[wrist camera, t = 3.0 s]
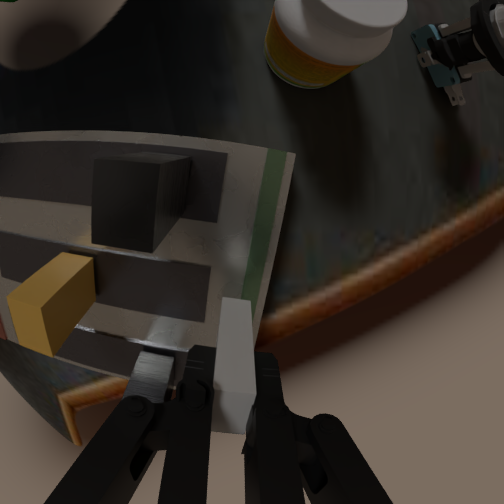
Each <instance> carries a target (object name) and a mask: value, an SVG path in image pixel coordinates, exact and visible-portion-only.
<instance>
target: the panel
mask: <svg viewBox="0 0 504 504" xmlns="http://www.w3.org/2000/svg"><path fill="white" fill-rule="evenodd" d="M295 156H296V154H294V153H290V152H285V151H280V150H275V149H269V148H264V147H258V146H252V145H246V144H240V143H233V142H226V141H219V140H212V139H204V138H196V137H187V136H177V135H166V134H154V133H140V132H121V131H43V132H25V133H12V134H1V135H0V338H2V339H4V340H7V339H8V340H10V341H12V342H15V343H17V344H19V341H18V337H17V334H16V331H15V328H14V324H13V321H12V317H11V313H10V310H9V306H8V302H7V297H6V296H8V295H9V294H10V293H11V292H12V291H13V290H15V289H16V288H17V287H18V286H19V285H21V284H22V283H23V282H24V281H25V280H27V279H28V278H29V277H30V276H32V275H33V274H34V273H35V272H37V271H38V270H39V269H41V268H42V267H43V266H44V265H46V264H47V263H48V262H50V261H51V260H52V259H54V258H55V257H56V256H58V255H59V254H60V253H62V252H65V253H70V254H75V255H81V256H86V257H91V258H93V265H94V282H95V294H96V301H95V302H94V303H93V305H92V306H91V307H90V309H89V310H88V311H87V312H86V314H85V315H84V316H83V318H82V319H81V320H80V322H79V323H78V324H77V325H76V327H75V328H74V329H73V331H72V332H71V334H70V335H69V336H68V338H67V339H66V340H65V342H64V343H63V345H62V346H61V347H60V349H59V350H58V352H57V353H56V354H55V356H54V357H53V358H56V359H59V360H62V361H65V362H68V363H71V364H74V365H77V366H80V367H83V368H87V369H90V370H93V371H97V372H100V373H104V374H108V375H112V376H115V377H119V378H123V379H128V380H129V382H128V385H127V387H126V390H125V393H124V395H123V398H122V400H123V399H124V398H125V397H128V396H131V395H139V396H143V397H146V398H147V399H149V400H150V401H151V402H152V403H163V402H168V401H171V397H172V392H173V389H176V386H177V384H178V382H179V381H181V380H182V379H183V374H184V370H185V365H186V361H187V356H188V351H189V350H190V349H191V348H192V347H193V346H194V345H195V344H196V345H202V346H209V347H216V339H217V332H218V325H219V318H220V311H221V304H222V297H227V298H234V299H241V300H249V301H251V314H252V331H253V347H255V343H256V338H257V334H258V330H259V326H260V321H261V317H262V312H263V308H264V304H265V299H266V295H267V290H268V286H269V281H270V277H271V272H272V268H273V263H274V258H275V254H276V249H277V244H278V240H279V235H280V230H281V225H282V221H283V216H284V211H285V206H286V201H287V196H288V191H289V186H290V181H291V176H292V171H293V166H294V161H295ZM19 345H20V344H19Z"/></svg>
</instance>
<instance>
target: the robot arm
mask: <svg viewBox="0 0 504 504" xmlns="http://www.w3.org/2000/svg"><path fill="white" fill-rule="evenodd" d="M245 430H246V440H245V443H244V446H243V449H242V453H241V454H244V461H245V462H244V463H245V464H244V466H245V504H305V499H304V492H303V488H304V490H305V492H306V494H307V496H308V498H309V500H310V502H311V504H393V503H392V501H391V500H390V498H389V497H388V495H387V493H386V492H385V490H384V489H383V487H382V485H381V484H380V483H379V481H378V479H377V478H376V476H375V474H374V473H373V471H372V470H371V468H370V467H369V465H368V463H367V462H366V460H365V459H364V457H363V455H362V454H361V452H360V451H359V449H358V448H357V446H356V444H355V443H354V441H353V440H352V438H351V436H350V435H349V433H348V432H347V430H346V428H345V427H344V425H343V424H342V422H341V421H340V420H339V419H338V418H337V417H335V416H333V415H330V414H319V415H316V416H314V417H313V419H310V418H306V417H302V416H299V415H296V414H294V413H293V412H291V411H290V410H289V408H288V407H287V406H286V405H285V403H284V399H283V392H282V386H281V379H280V373H279V367H278V361H277V359H276V358H275V357H274V355H273V354H272V353H264V352H254V347H253V331H252V314H251V301H249V300H241V299H234V298H227V297H222V304H221V311H220V318H219V325H218V332H217V339H216V347H209V346H202V345H196V344H195V345H194V346H193V347H192V348H191V349H190V350H189V351H188V356H187V361H186V365H185V370H184V374H183V379H182V380H181V381H179V382H178V384H177V386H176V398H174V399H173V400H171V401H168V402H163V403H152V402H151V401H150V400H149V399H147V398H146V397H143V396H139V395H131V396H128V397H125V398H124V399H123V400H121V401H120V403H119V404H118V405H117V407H116V408H115V409H114V410H113V412H112V413H111V414H110V416H109V417H108V418H107V420H106V421H105V422H104V423H103V425H102V426H101V428H100V429H99V430H98V431H97V433H96V434H95V436H94V437H93V438H92V439H91V441H90V442H89V443H88V445H87V446H86V447H85V449H84V450H83V451H82V453H81V454H80V455H79V457H78V458H77V459H76V461H75V462H74V463H73V465H72V466H71V467H70V469H69V470H68V471H67V473H66V474H65V476H64V477H63V478H62V480H61V481H60V482H59V484H58V485H57V486H56V488H55V489H54V491H53V492H52V493H51V495H50V496H49V497H48V499H47V500H46V501H45V503H44V504H128V503H129V501H130V499H131V498H132V496H133V494H134V492H135V491H136V489H137V487H138V485H139V483H140V482H141V480H142V478H143V476H144V474H145V473H146V471H147V469H148V467H149V465H150V464H151V462H152V460H153V458H154V456H155V455H156V453H157V451H159V450H167V451H166V457H165V462H164V467H163V473H162V479H161V486H160V492H159V499H158V504H206V499H207V481H208V480H207V479H208V465H209V449H210V434H211V431H214V432H223V433H233V434H245Z"/></svg>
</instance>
